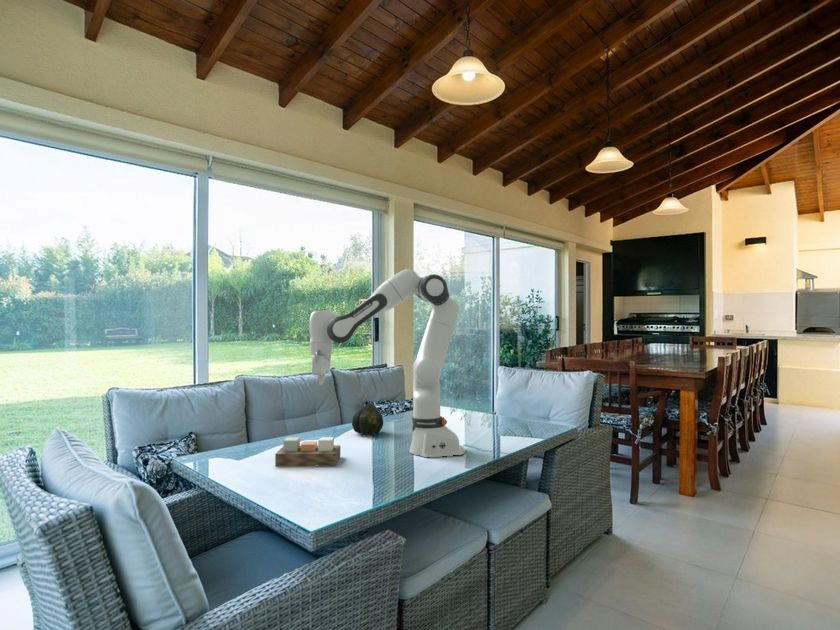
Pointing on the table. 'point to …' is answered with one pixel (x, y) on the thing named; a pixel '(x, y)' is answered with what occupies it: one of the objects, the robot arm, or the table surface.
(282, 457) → the board
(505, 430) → the table surface
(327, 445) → the cream key
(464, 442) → the table surface
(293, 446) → the sage key
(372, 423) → the squash
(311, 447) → the terracotta key
